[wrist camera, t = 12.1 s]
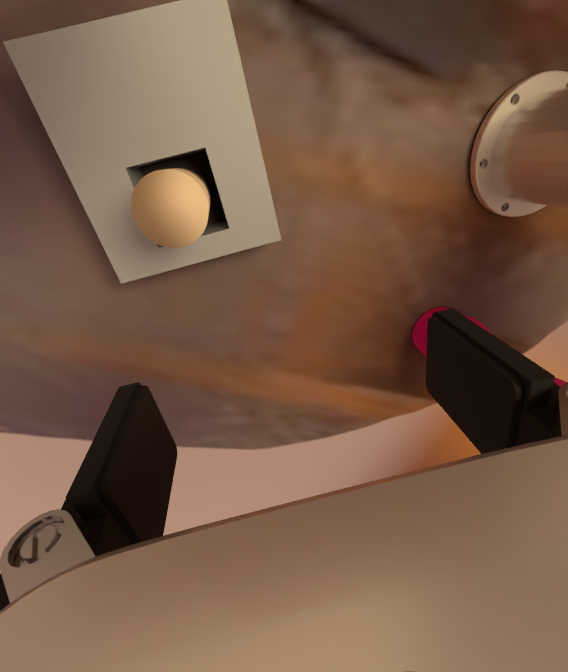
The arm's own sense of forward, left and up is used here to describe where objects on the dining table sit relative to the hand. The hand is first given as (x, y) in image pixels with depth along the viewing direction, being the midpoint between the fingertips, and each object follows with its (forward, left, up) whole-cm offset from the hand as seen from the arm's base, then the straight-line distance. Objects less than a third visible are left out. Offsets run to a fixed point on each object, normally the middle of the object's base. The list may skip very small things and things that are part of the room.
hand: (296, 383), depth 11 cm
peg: (+4, -5, -25) cm, 26 cm away
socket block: (+4, -8, -25) cm, 27 cm away
